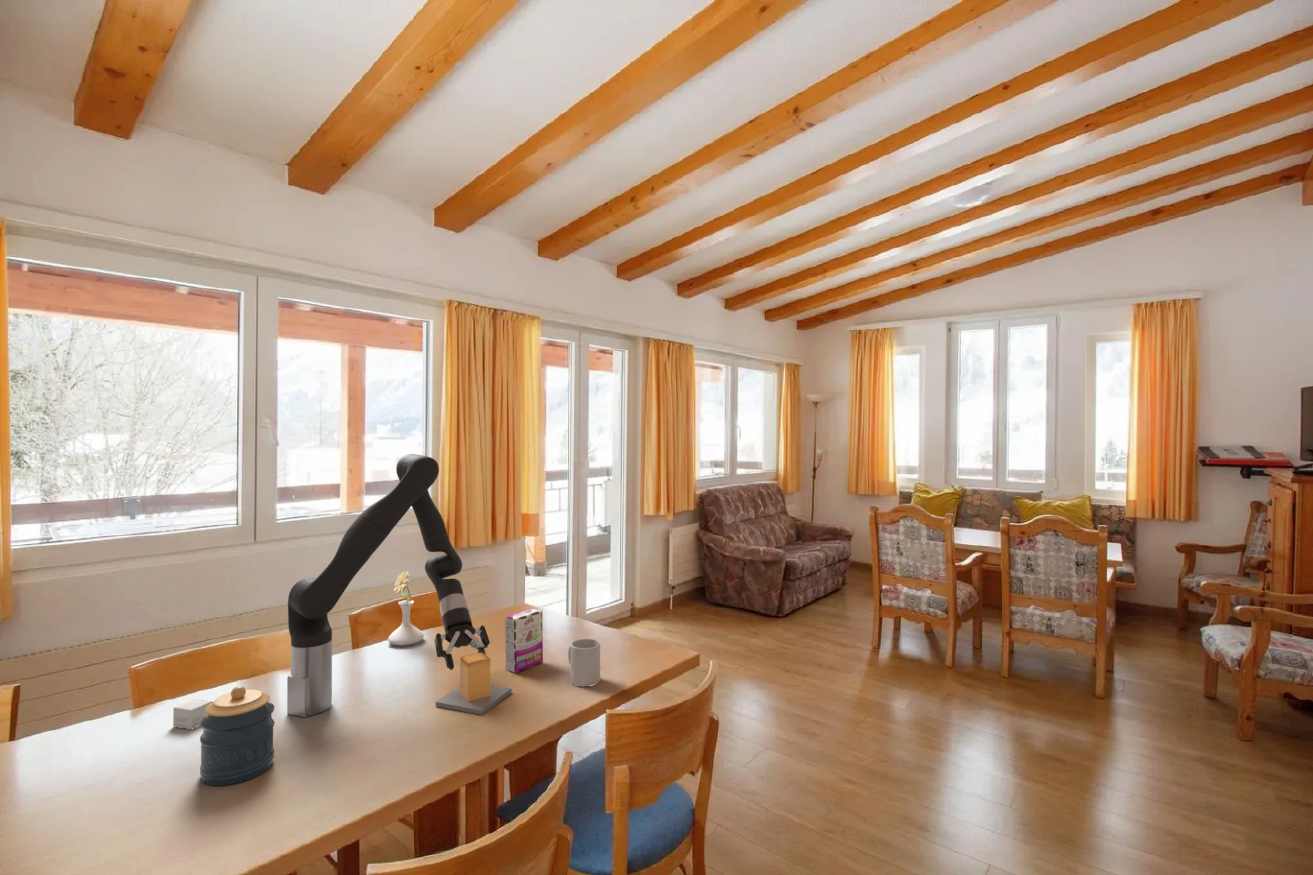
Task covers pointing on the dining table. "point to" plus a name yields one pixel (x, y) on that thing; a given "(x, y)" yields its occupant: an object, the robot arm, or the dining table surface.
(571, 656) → the mug
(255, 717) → the canister
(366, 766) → the dining table surface
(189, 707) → the small box
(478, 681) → the upright tan block
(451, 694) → the peg plate
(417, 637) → the flower in vase
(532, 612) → the candy bar box
